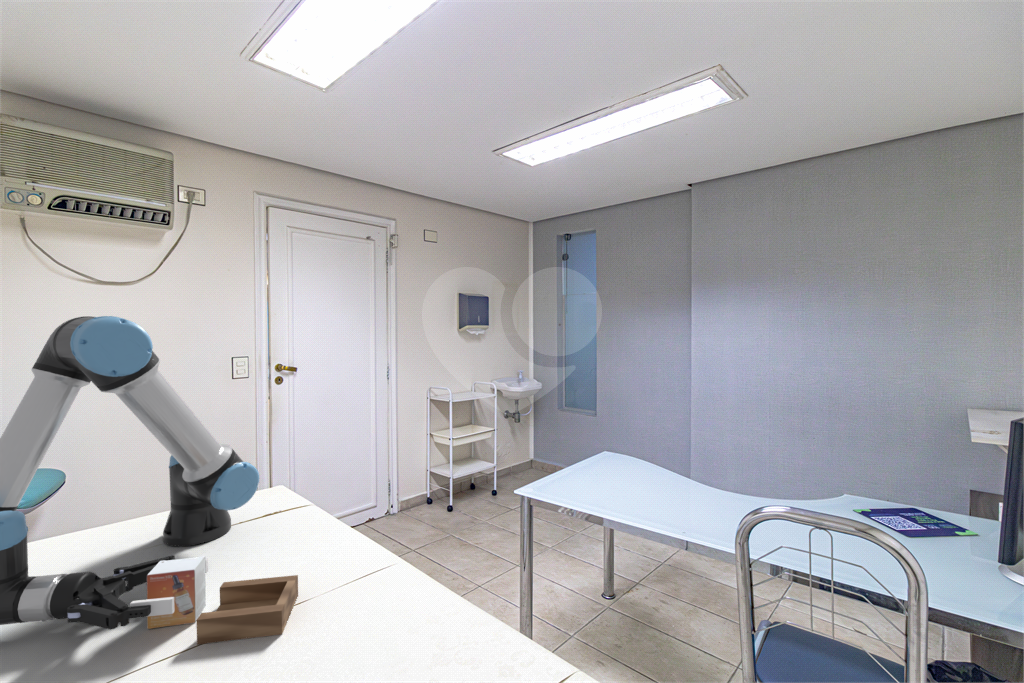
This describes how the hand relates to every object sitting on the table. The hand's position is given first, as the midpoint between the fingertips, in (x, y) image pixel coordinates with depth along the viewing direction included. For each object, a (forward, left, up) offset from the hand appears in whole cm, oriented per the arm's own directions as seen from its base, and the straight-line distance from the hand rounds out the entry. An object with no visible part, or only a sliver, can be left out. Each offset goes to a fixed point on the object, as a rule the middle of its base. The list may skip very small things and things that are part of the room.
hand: (191, 583), depth 90 cm
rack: (+3, +11, -7) cm, 13 cm away
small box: (0, -3, -7) cm, 7 cm away
